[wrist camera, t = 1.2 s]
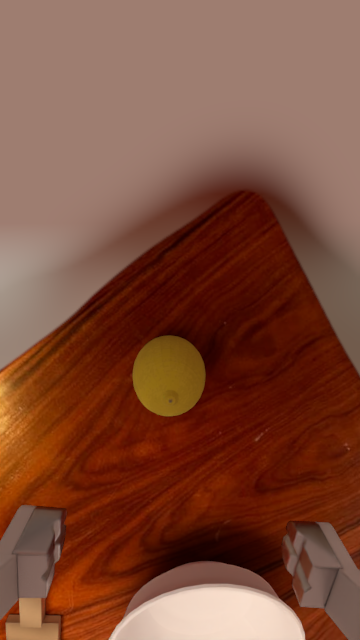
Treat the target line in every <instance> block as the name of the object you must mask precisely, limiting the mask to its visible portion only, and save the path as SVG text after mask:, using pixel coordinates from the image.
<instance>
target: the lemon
mask: <svg viewBox="0 0 360 640" xmlns="http://www.w3.org/2000/svg"><path fill="white" fill-rule="evenodd" d="M205 376H206V374H205V367H204V362H203V360H202V357H201V355H200V353H199V352H198V350H197V349H196V348H195V347H194V346H193V345H192V344H191V343H190V342H188V341H187V340H185V339H183V338H181V337H178V336H171V335H167V336H160V337H158V338H155V339H153V340H151V341H150V342H149V343H147V344H146V345H145V346H144V347H143V348H142V349H141V350H140V352H139V354H138V356H137V358H136V360H135V362H134V368H133V384H134V389H135V391H136V394H137V396H138V398H139V400H140V401H141V402H142V404H143V405H144V406H145V407H146V408H147V409H149V410H150V411H152V412H154V413H156V414H158V415H162V416H176V415H180V414H182V413H184V412H186V411H188V410H189V409H191V408H192V407H193V406H194V405H195V404H196V403H197V401H198V400H199V398H200V397H201V394H202V392H203V389H204V384H205Z"/></svg>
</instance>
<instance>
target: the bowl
mask: <svg viewBox="0 0 360 640" xmlns="http://www.w3.org/2000/svg"><path fill="white" fill-rule="evenodd" d="M109 640H305V633H304V630H303V627H302V624H301V621H300V619H299V618H298V617H297V615H296V614H295V612H294V611H293V610H292V609H291V608H290V607H289V606H288V605H286V604H285V603H284V602H283V601H282V600H280V599H279V597H278V596H277V594H276V593H275V591H274V590H273V588H272V587H271V586H270V584H269V583H268V582H266V581H265V580H264V579H263V578H262V577H261V576H259V575H257V574H255V573H253V572H252V571H250V570H248V569H245V568H241V567H238V566H235V565H229V564H225V563H222V562H215V561H197V562H191V563H187V564H184V565H180V566H178V567H176V568H173V569H171V570H169V571H168V572H166V573H163V574H161V575H159V576H157V577H155V578H154V579H152V580H151V581H150V582H148V583H147V584H145V585H144V586H143V587H142V588H141V589H140V590H139V591H138V592H137V593H136V594H135V595H134V597H133V598H132V600H131V602H130V603H129V605H128V607H127V610H126V613H125V615H124V618H123V620H122V621H121V622H120V623H119V624H118V625H117V626H116V628H115V630H114V631H113V633H112V635H111V636H110V638H109Z"/></svg>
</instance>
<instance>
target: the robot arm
mask: <svg viewBox="0 0 360 640" xmlns="http://www.w3.org/2000/svg"><path fill="white" fill-rule="evenodd" d="M65 519H66V509H65V508H55V507H44V506H30V505H22V506H21V507H20V508H19V509H18V510H17V512H16V514H15V516H14V518H13V519H12V521H11V523H10V525H9V527H8V528H7V530H6V532H5V534H4V536H3V537H2V539H1V541H0V620H1V619H2V617H3V616H4V615H5V614H6V613H7V612H8V611H9V610H10V608H11V607H12V606H13V605H14V604H15V603H16V602H17V600H18V598H46V597H47V594H48V591H49V588H50V585H51V582H52V579H53V577H54V567H55V563H56V562H57V561H58V560H59V559H60V556H61V553H62V549H63V545H64V541H65V535H66V525H65V524H64V522H65ZM286 530H287V532H288V534H287V535H286V536H284V537H283V540H282V557H283V561H284V564H285V567H286V569H287V570H288V571H289V573H290V574H291V575H292V576H293V580H292V586H293V589H294V591H295V594H296V597H297V600H298V602H299V605H300V607H313V608H325V611H326V613H327V614H328V615H329V616H330V617H331V619H332V620H333V621H334V622H335V624H336V625H337V626H338V627H339V629H340V630H341V631H342V632H343V634H344V635H345V636H346V637H347V639H348V640H360V570H358V569H357V567H356V565H355V564H354V562H353V560H352V559H351V557H350V555H349V554H348V552H347V550H346V548H345V547H344V545H343V543H342V542H341V540H340V538H339V537H338V535H337V533H336V531H335V530H334V528H333V526H332V525H331V524H330V523H324V522H310V521H289V522H288V523H287V526H286Z"/></svg>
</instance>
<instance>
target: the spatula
mask: <svg viewBox="0 0 360 640" xmlns="http://www.w3.org/2000/svg"><path fill="white" fill-rule="evenodd" d="M19 608H20V615H10V614H9V616H8V618H7V621H6V638H7V640H60V632H61V615H45V598H19Z"/></svg>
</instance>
